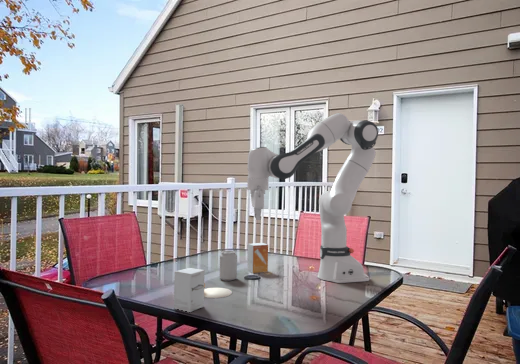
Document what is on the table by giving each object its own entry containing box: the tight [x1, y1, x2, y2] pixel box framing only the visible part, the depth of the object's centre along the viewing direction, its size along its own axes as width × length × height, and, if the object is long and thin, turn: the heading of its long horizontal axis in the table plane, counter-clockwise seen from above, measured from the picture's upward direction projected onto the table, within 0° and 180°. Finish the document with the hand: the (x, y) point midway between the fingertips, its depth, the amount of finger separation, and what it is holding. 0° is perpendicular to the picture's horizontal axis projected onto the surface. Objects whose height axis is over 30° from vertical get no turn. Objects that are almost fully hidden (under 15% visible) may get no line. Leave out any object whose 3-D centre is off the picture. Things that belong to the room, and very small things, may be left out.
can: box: [219, 250, 238, 282], centre depth 168 cm, size 8×8×12 cm
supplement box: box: [173, 267, 206, 313], centre depth 129 cm, size 7×7×13 cm
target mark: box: [204, 287, 233, 299], centre depth 147 cm, size 13×13×1 cm
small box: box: [246, 242, 269, 274], centre depth 183 cm, size 8×6×13 cm
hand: (257, 218), depth 161 cm, fingers open, 8 cm apart
